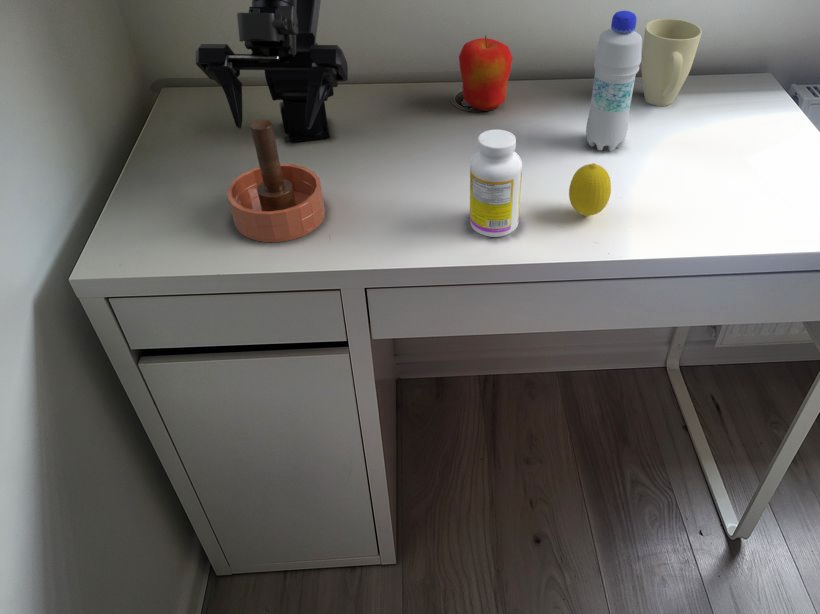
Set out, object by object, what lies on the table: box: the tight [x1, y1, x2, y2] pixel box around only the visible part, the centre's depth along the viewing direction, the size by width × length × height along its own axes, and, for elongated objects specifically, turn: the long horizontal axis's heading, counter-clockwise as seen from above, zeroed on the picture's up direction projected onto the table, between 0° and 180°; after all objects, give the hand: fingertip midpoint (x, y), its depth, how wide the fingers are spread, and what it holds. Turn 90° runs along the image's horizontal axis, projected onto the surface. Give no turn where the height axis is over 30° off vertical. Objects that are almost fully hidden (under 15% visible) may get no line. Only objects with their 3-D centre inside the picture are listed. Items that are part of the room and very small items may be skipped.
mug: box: [640, 18, 703, 107], centre depth 118 cm, size 11×10×12 cm
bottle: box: [585, 10, 643, 152], centre depth 105 cm, size 7×7×20 cm
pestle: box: [250, 119, 296, 211], centre depth 93 cm, size 5×5×13 cm
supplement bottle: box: [469, 129, 523, 238], centre depth 92 cm, size 7×7×13 cm
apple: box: [458, 34, 513, 111], centre depth 117 cm, size 9×8×12 cm
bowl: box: [226, 163, 326, 243], centre depth 96 cm, size 12×12×4 cm
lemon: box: [568, 163, 612, 217], centre depth 95 cm, size 6×6×8 cm
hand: (273, 128), depth 94 cm, fingers open, 9 cm apart
